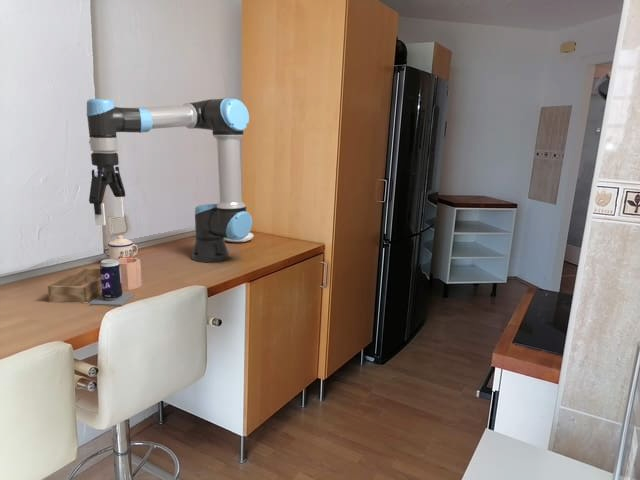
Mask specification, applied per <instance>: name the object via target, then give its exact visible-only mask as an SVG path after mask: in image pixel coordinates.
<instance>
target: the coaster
mask: <svg viewBox="0 0 640 480" xmlns="http://www.w3.org/2000/svg"><path fill="white" fill-rule="evenodd" d="M135 296H136V294H135V293H126V292H125V293H123V292H122V296H121V297H120V298H119V299H116V300H106V299H105V298H103V297H102V294H100V295H99V296H97V297H96V298H94V299H93V300H91V301H90V302H88V303H87V305H88V304H90V305H89V306H92V305H109V306H108V307H123V306H124V305H125V304H126V303H127V302H129V301H130V300H131V299H133V298H134V297H135ZM132 297H133V298H132ZM122 305H123V306H122Z"/></svg>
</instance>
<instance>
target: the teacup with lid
mask: <svg viewBox="0 0 640 480" xmlns="http://www.w3.org/2000/svg"><path fill="white" fill-rule="evenodd" d="M116 237H117V238H114V239H113V240H110V241H109V242H108V244H107V245H108V253H109V254H108V255H109V259H121V258H134V257H135V256H136V255H137V253H138V250H139V248H138V245H137V244H136V243H135V244H134V242H133V240H131V239H127V238H125V237H124V236H123V235H118V236H116ZM133 247H134V248H133Z"/></svg>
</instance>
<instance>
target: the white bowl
mask: <svg viewBox="0 0 640 480" xmlns="http://www.w3.org/2000/svg"><path fill="white" fill-rule="evenodd" d="M253 238H254V234H253V233H252V232H250V233H248V235H247V236H246V237H245V238H243V239H241V240H231V239H228V238H224V241H225V242H226V241H227V242H229V243H244V242H248V241H250V240H253Z"/></svg>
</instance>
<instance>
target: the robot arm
mask: <svg viewBox="0 0 640 480" xmlns="http://www.w3.org/2000/svg"><path fill="white" fill-rule="evenodd" d="M86 117H87V124H88V134H89V141H88V144H90V145H89V147H90V151H91V154H90V156H91V157H90V158H91V159H90V160H91V164H92V166H95V167H96V169H91V182H90V188H89V189H90V190H89V198H88V201H89V204H91V205H92V204H93V211H94V213H93V214H94V221H95V222H94V223H95V226H106V224H107V223H106V221H107V220H106V212H105V211H106V210H105V202H104V203H103V201H104V197H105V193H106V189H107V186H109V188H110V190H111V192H112V194H113V197H112V199H113V200H112V201H113V202H112V203H113V210H114V211H113V212H114V217H115V218H124V217H125V213H124V203H123V202H124V201H123V197H124V198H125V197H126V190H125V187H124V182H123V181H122V177H121V173H120V167H119V164H120V163H119V162H120V161H119V154H118V153H117V152H118V149H119V147H118V139H117V133H139V134H142V133H148V132H150V131H151V130H152V129H153V130H155V129H166V128H167V129H169V128H180V127H181V128H183V127H185V128H186V129H188V130H191V129H197V130H198V129H199V130H200V129H201V130H206V131H207V130H210V131H212V136H213V137H214V138H215V139H216V148H217V164H218V165H217V166H218V168H217V169H218V187H219V202H218V203H211V204H210V203H209V204H201V205H200V204H199V205H197V206H195V208H194V209H195V210H194V224H195V225H194V226H195V227H194V228H195V242H194V246H193V249H192V252H191V258H192V260H193V261H195V262H201V263H216V262H217V261H218V262H222V261H226V260H228V259H229V249H228V246H227V244H226V240H224V238H228V239H231V240H241V239H243V238H245V237H246V236H247V235H248V233H251V231H252V227H253V222H254V221H253V217H252V215H251V214H250V213H249V212H248V211H247V205H246V203H245V202H243V194H242V193H243V191H242V170H241V169H242V166H241V165H242V164H241V143H240V142H241V141H240V140H241V139H242V138H243V137H244V130H245V129H247V127H248V125H249V122H250V113H249V111H248V108H247V106H246V105H245V104H244V103H243V102H242V101H241V100H239V99H237V98H230V97H229V98H228V97H227V98H218V99H217V98H214V99H212V98H210V99H205V100H200V101H195V102H185V103H183V104H182V105H173V106H172V105H171V106H169V105H167V106H147V107H145V106H142V107H118V106H115V102H114V101H113V100H112V99H105V98H104V99H103V98H90V99H88V100H87V101H86ZM218 262H217V263H218Z"/></svg>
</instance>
